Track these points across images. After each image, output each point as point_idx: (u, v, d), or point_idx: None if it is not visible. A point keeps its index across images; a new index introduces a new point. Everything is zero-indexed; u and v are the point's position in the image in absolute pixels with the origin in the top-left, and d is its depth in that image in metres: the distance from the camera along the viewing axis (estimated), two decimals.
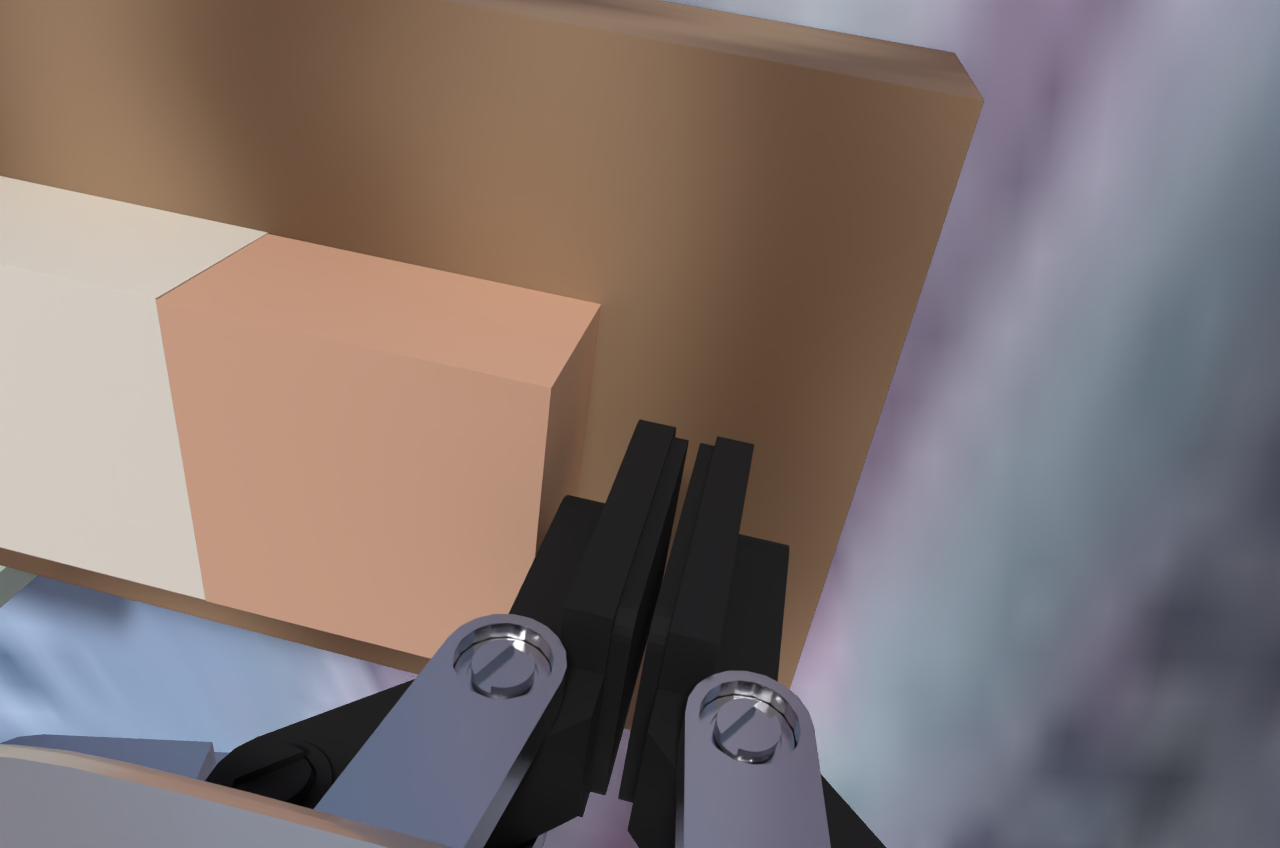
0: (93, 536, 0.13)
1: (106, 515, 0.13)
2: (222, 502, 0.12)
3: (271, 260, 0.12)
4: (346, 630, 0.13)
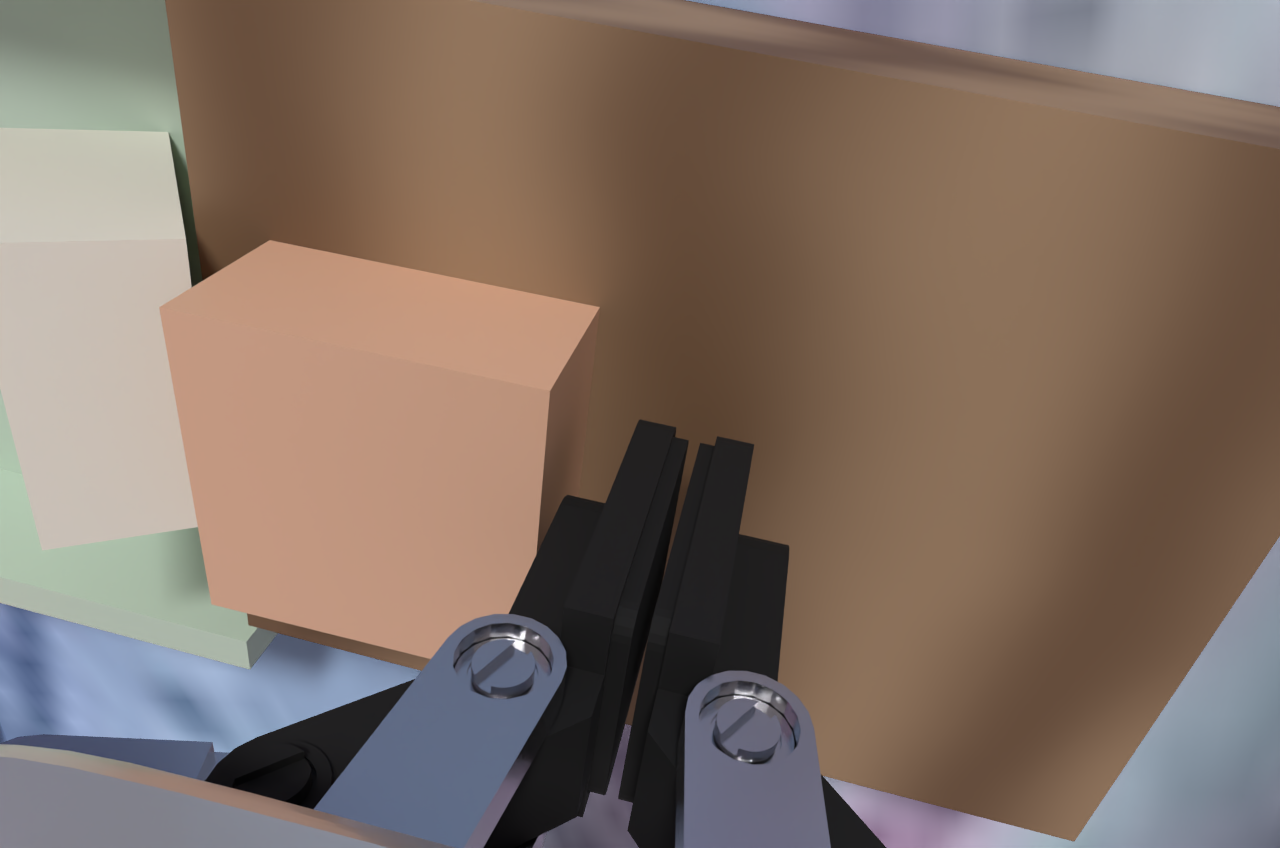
0: None
1: None
2: (226, 506, 0.13)
3: (273, 267, 0.12)
4: (351, 632, 0.13)
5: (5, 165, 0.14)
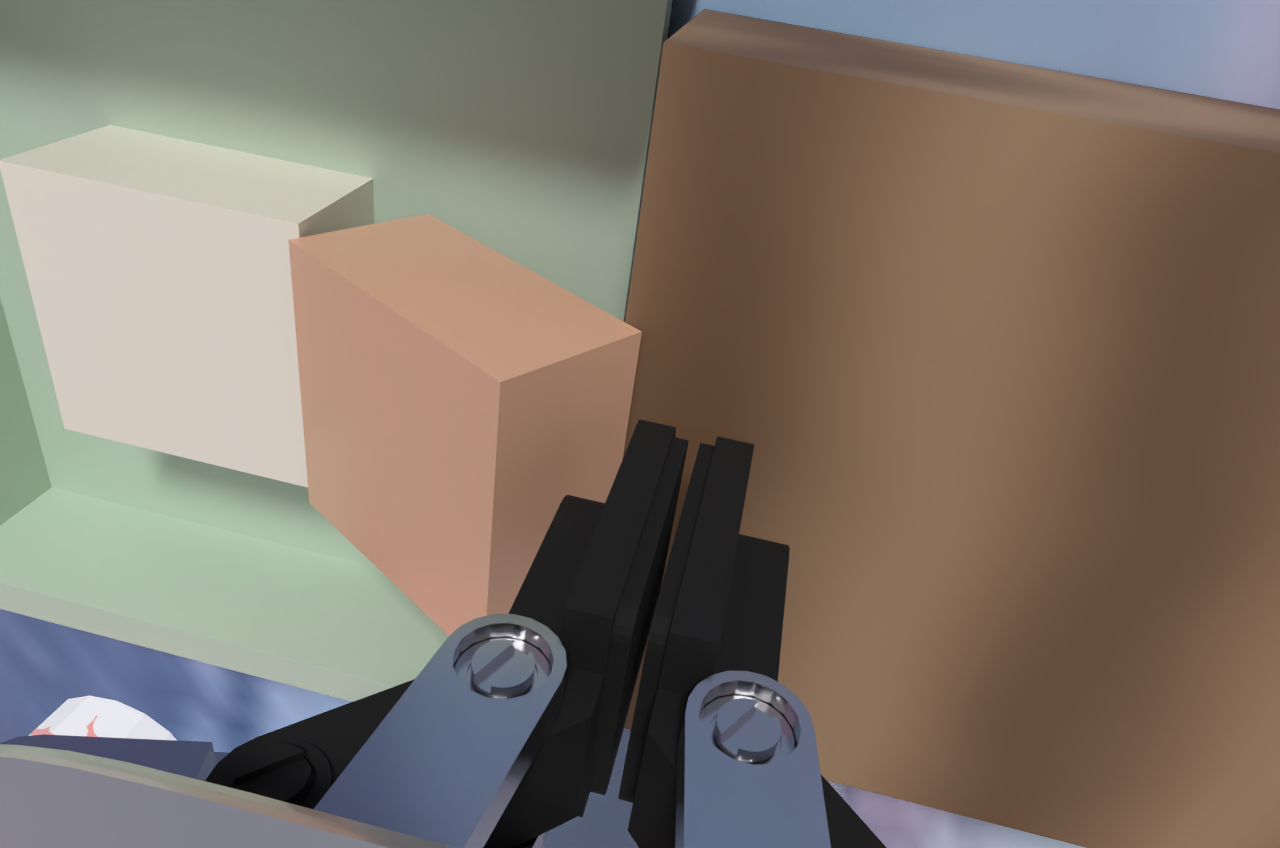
0: None
1: None
2: (317, 420, 0.15)
3: (405, 232, 0.14)
4: (380, 564, 0.15)
5: (261, 160, 0.16)
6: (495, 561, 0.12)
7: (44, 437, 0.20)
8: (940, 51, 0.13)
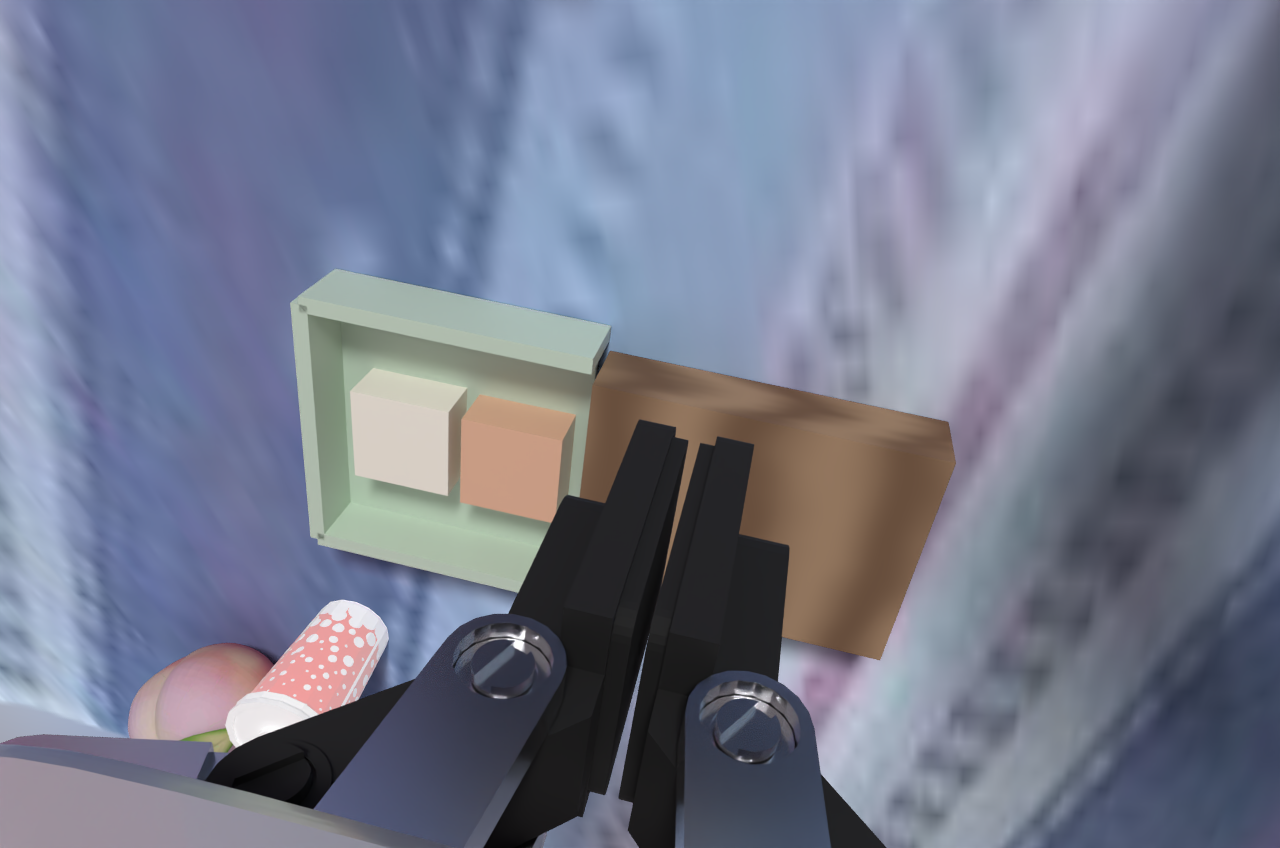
0: None
1: None
2: (470, 471, 0.44)
3: (484, 404, 0.44)
4: (503, 509, 0.45)
5: (428, 382, 0.45)
6: (558, 489, 0.44)
7: (352, 481, 0.49)
8: (682, 367, 0.42)
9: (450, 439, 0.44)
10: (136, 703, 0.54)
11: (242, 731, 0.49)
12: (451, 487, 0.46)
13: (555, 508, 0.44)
